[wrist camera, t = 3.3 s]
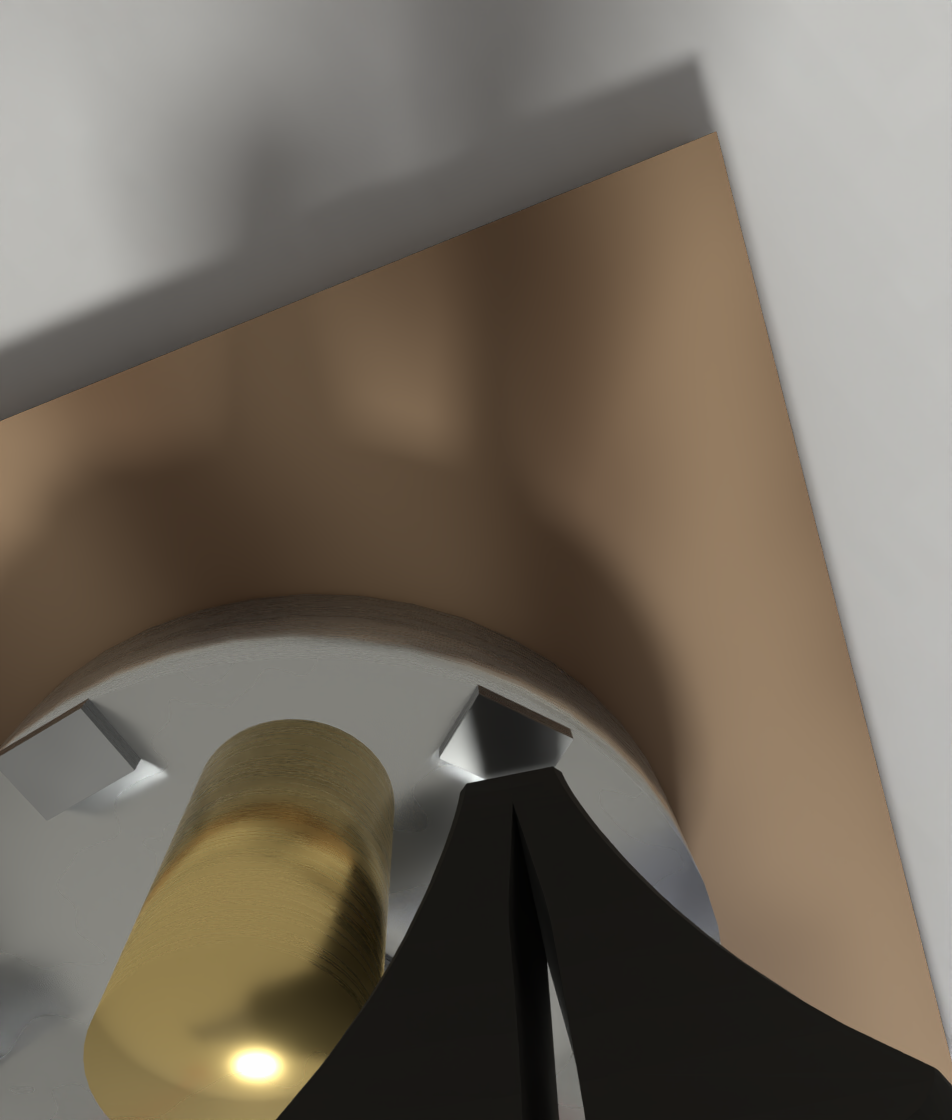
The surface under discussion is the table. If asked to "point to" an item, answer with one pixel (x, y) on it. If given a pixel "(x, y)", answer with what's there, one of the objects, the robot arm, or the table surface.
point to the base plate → (519, 533)
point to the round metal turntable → (267, 843)
